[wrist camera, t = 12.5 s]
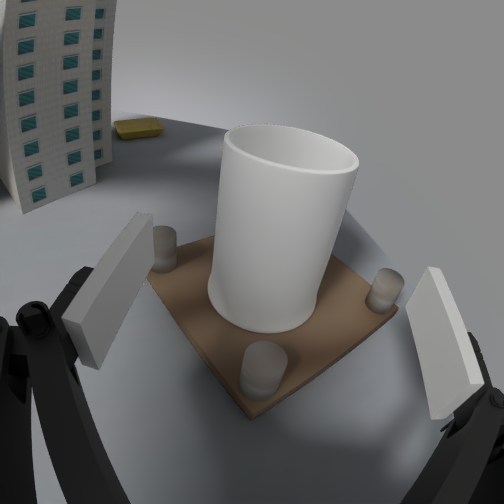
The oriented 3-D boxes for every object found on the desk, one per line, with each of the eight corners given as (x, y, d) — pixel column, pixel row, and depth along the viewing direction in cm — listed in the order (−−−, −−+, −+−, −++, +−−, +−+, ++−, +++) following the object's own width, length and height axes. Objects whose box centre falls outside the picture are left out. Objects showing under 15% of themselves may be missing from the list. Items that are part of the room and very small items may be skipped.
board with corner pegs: (140, 267, 27) (136, 229, 25) (279, 223, 36) (285, 191, 33) (251, 420, 18) (261, 391, 15) (394, 315, 26) (413, 282, 24)
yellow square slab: (154, 126, 61) (155, 116, 60) (164, 138, 55) (164, 128, 54) (113, 131, 57) (113, 121, 56) (118, 144, 51) (117, 133, 50)
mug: (295, 238, 32) (323, 120, 25) (360, 290, 27) (411, 163, 20) (187, 276, 26) (193, 127, 18) (250, 353, 21) (288, 185, 13)
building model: (130, 171, 42) (142, -43, 24) (22, 214, 31) (12, -41, 13) (74, 140, 51) (77, -16, 33) (-5, 169, 40) (-13, -3, 22)
